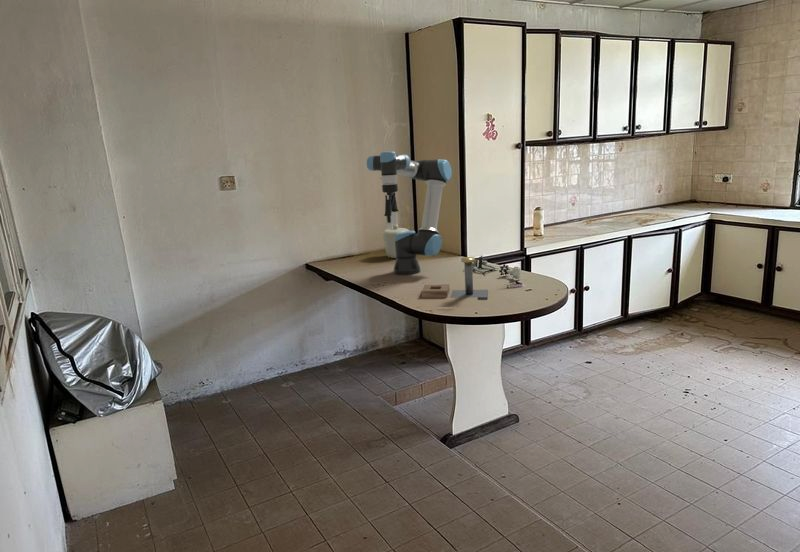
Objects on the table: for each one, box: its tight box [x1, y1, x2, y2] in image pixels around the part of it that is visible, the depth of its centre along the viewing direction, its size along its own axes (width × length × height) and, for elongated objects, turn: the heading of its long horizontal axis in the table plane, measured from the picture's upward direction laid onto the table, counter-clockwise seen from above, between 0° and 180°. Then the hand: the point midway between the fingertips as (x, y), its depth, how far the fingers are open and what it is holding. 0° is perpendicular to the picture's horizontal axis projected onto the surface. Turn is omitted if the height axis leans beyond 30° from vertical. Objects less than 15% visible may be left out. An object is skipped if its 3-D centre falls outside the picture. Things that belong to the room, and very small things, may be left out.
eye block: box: [421, 283, 450, 299], centre depth 268 cm, size 12×12×4 cm
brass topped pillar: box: [460, 256, 476, 295], centre depth 262 cm, size 6×6×17 cm
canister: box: [381, 225, 411, 259], centre depth 360 cm, size 18×18×21 cm
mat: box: [450, 289, 489, 300], centre depth 265 cm, size 13×17×1 cm
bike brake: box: [472, 255, 498, 275], centre depth 311 cm, size 14×7×20 cm
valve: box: [498, 264, 521, 279], centre depth 291 cm, size 7×7×12 cm
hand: (392, 226), depth 279 cm, fingers open, 13 cm apart
